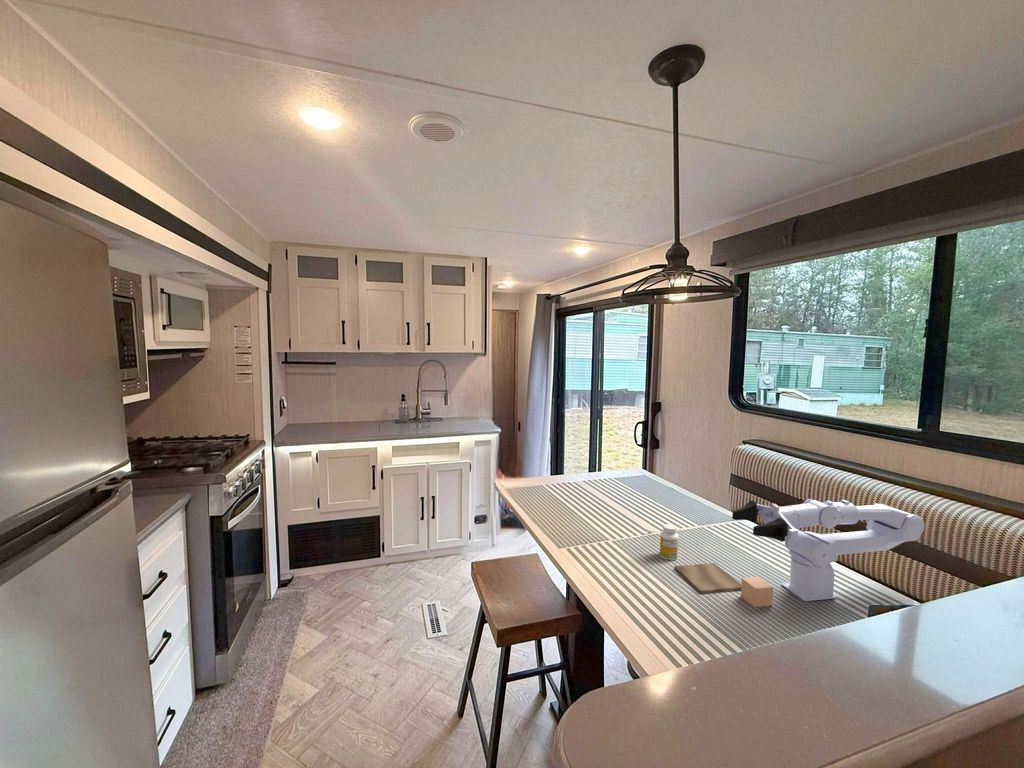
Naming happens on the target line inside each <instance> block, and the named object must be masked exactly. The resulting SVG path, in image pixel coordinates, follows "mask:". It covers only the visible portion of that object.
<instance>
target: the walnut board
mask: <svg viewBox="0 0 1024 768" xmlns="http://www.w3.org/2000/svg"><path fill="white" fill-rule="evenodd" d="M673 569H674V570H675V571H676V572H677V573H678V574H679V575H680V574H681V575H682V576H683V579H684V580H686V581H687V583H688V584H690V585H691V586H692V587H693V588H694V589H695V590H697V592H698V593H699V594H711V593H721V592H734V591H741V584H742V583H740V582H739V581H738V580H736V579H735V578H734V577H733V576H732V575H730V574H729V573H728V572H726V571H725V570H724V569H723V568H721V567H720V566H718V565H717V564H716V563H715V562H713V563H699V564H697V563H696V564H686V565H674V568H673ZM681 575H680V576H681ZM682 576H681V577H682Z"/></svg>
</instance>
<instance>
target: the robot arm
mask: <svg viewBox="0 0 1024 768" xmlns="http://www.w3.org/2000/svg"><path fill="white" fill-rule="evenodd" d="M731 517H732V519H733V520H735V521H750V522H753V523H757V519H758V517H759V518H760V519H761V520H762V522H763V523H762V524H757V525H754V526H753V528H752V535H753V536H756V537H764V538H769V539H773V540H776V541H779V542H780V543H782V542H784V546H785V547H786V550H788V555H790V572H789V573H790V574H789V582H781V586H782V587H784V588H785V589H786V590H788V591H789V592H791V593H792V594H794V595H795V596H796V597H798V598H800V599H801V600H803V601H804V602H812V601H822V600H831V599H833V600H834V599H836V598H837V596H836V595H834V585H835V571H834V567H833V565H832V564H831V563H834V562H837V561H838V558H839V556H842V555H843V556H844V555H852V554H861V553H862V554H863V553H875V552H881V551H883V552H884V551H888V550H892V549H893V548H895V547H897V546H899V545H901V544H902V543H903V544H904V543H905V542H914V541H918V540H919V538H920V537H921V535H922V534H923V533H924V530H925V521H924V519H923V517H921V516H920V515H918V514H913V513H909V512H906V511H903V510H901V509H898V508H895V507H892V506H890V505H887V504H885V503H877V502H876V503H874V504H869V505H854V504H853V503H852V502H850V501H848V500H846V499H841V500H840V501H831V500H825V502H820V501H818V500H816V499H811V498H808V499H806V500H805V501H804V502H802V503H799V504H791V505H784V506H778V505H777V504H776V503H772V504H771V505H770V506H768V505H764V504H759V503H758V502H756V501H754V500H749V501H748V502H747V503H746V504H745V505H744V506H741V507H740V508H738V509H736V510H734V511H732V515H731ZM859 520H860V521H867V524H866V526H865V528H866V530H859V531H848V532H845V531H844V532H837V533H822V534H821V533H818V532H817V533H816V532H814V531H813V532H812V531H809V530H808V531H803V530H800V528H807V527H815V526H821V527H823V528H827V529H830V530H831V529H833V528H835V527H836V526H837V525H856V524H857V523H858V522H859Z"/></svg>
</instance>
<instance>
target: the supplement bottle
mask: <svg viewBox="0 0 1024 768" xmlns="http://www.w3.org/2000/svg"><path fill="white" fill-rule="evenodd" d="M677 528H678V527H677V526H676V525H674V524H670V523H666V524H663V526H662V531H661V532H660V540H659V541H660V542H659V555H660V557H662V558H663V559H665V560H669V561H675V560H678V558H679V546H680V545H679V543H680V542H679V540H680V539H679V534H678V533H677V531H678V529H677Z"/></svg>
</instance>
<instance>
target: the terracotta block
mask: <svg viewBox="0 0 1024 768" xmlns="http://www.w3.org/2000/svg"><path fill="white" fill-rule="evenodd" d="M740 584H741V590H740V591H741V592H740V596H741V598H743V599H744V600H745V601H746V602H748V603H749V604H750V605H751V606H753V607H754V608H762V606H763V607H771V606H770V605H772V606H773V599H774V598H773V597H774V586H773V585H771V584H770V583H768V582H767V581H765V580H764V579H763V578H761V577H760V576H751V577H749V576H748V577H741V583H740Z"/></svg>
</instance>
